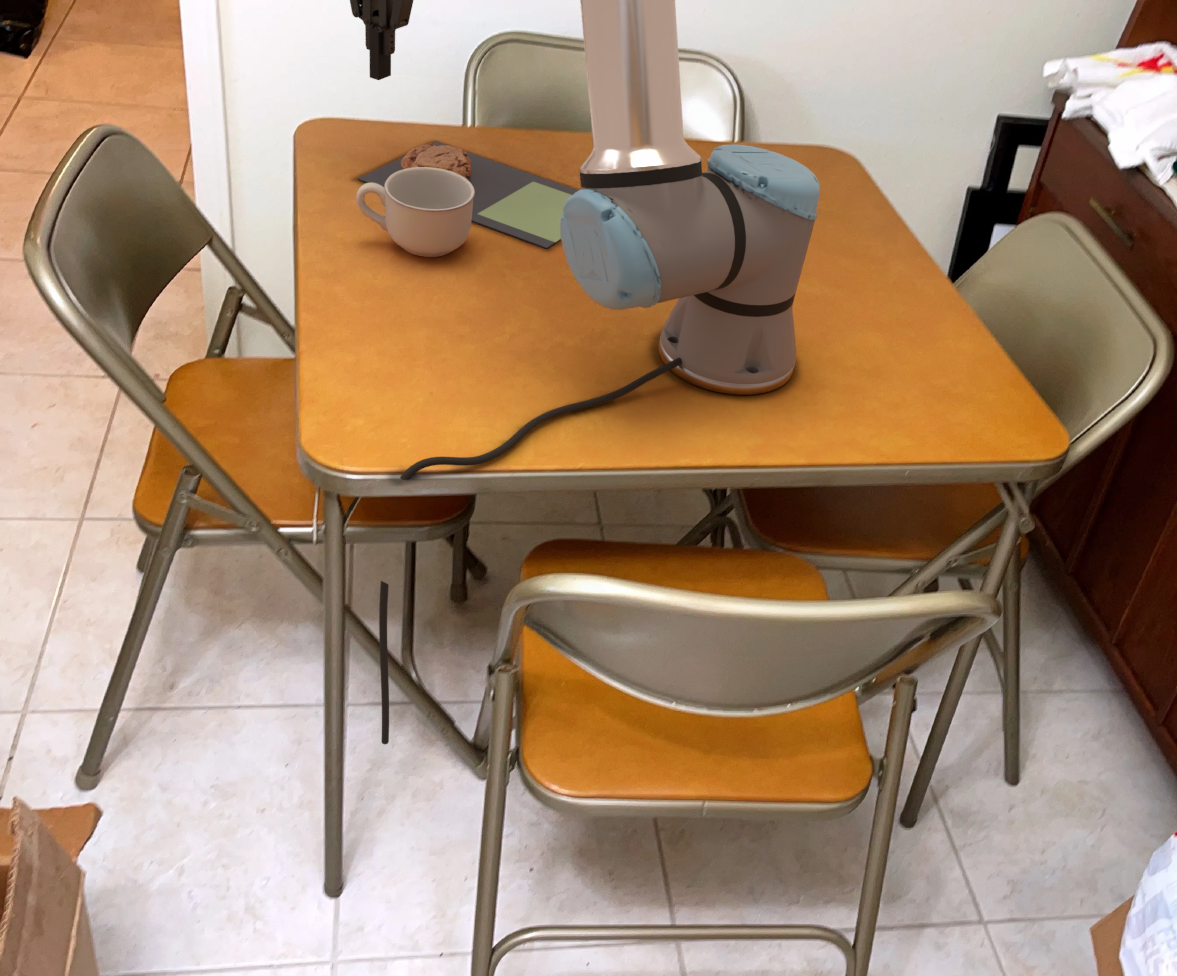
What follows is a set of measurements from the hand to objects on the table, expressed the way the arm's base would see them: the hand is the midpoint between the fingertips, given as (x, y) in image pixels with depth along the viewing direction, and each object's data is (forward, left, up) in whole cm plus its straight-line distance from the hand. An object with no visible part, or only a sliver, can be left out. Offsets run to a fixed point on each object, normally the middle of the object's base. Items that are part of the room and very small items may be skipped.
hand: (380, 76), depth 152 cm
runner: (0, -18, -11) cm, 21 cm away
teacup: (-19, -20, -11) cm, 30 cm away
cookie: (0, -10, -11) cm, 15 cm away
